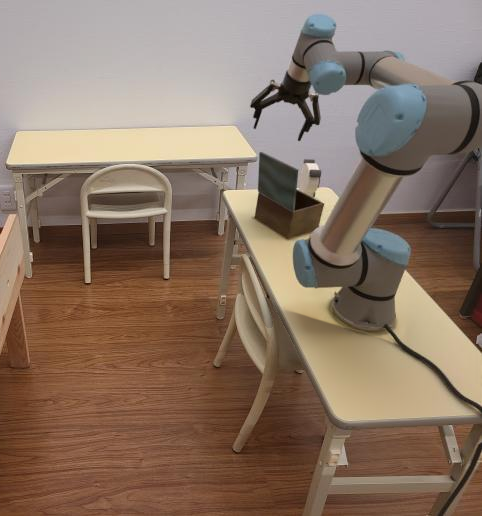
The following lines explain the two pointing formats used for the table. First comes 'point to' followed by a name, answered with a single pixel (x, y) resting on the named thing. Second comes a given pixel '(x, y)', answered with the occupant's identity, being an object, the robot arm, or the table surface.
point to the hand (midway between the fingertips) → (277, 131)
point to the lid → (277, 181)
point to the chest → (290, 215)
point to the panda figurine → (309, 177)
